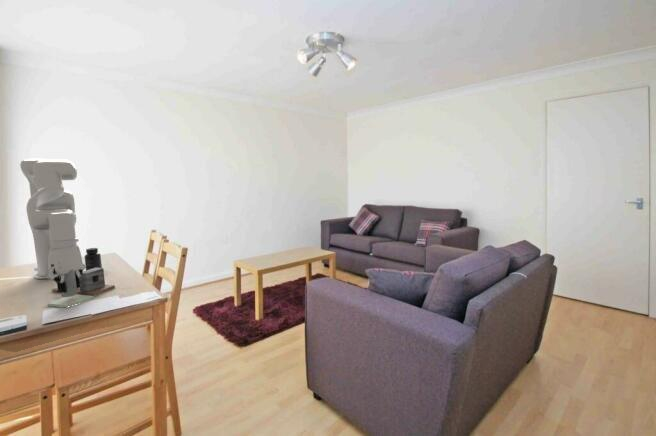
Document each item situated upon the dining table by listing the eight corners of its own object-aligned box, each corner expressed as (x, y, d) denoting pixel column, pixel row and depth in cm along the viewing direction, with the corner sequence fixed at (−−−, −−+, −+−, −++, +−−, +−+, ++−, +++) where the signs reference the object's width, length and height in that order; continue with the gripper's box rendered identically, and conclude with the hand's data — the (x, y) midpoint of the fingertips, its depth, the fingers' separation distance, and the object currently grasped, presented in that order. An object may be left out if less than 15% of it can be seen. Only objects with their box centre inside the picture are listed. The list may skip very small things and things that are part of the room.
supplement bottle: (105, 270, 171) (103, 247, 170) (92, 274, 165) (89, 250, 163) (96, 269, 173) (93, 246, 172) (82, 272, 167) (80, 249, 165)
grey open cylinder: (67, 293, 130) (64, 268, 129) (79, 292, 131) (77, 267, 129) (59, 297, 126) (56, 271, 124) (72, 296, 126) (69, 271, 125)
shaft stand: (52, 291, 140) (49, 271, 139) (75, 284, 149) (73, 265, 148) (93, 296, 135) (91, 274, 133) (114, 287, 144) (112, 268, 143)
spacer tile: (47, 305, 125) (47, 303, 125) (73, 296, 135) (73, 293, 134) (68, 308, 123) (67, 305, 122) (93, 298, 132) (92, 295, 132)
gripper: (77, 239, 135) (82, 282, 137) (32, 248, 118) (38, 296, 121) (92, 240, 133) (97, 283, 135) (48, 249, 116) (54, 298, 119)
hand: (69, 289), depth 128 cm, fingers closed on grey open cylinder, 4 cm apart
